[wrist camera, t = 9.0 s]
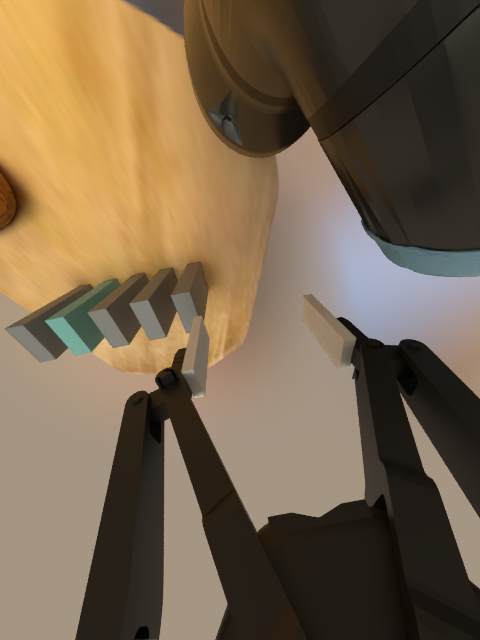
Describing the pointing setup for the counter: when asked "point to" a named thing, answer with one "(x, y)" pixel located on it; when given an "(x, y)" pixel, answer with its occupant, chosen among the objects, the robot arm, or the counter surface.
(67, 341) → the teal domino
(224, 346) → the counter surface
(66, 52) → the counter surface
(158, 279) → the domino
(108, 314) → the domino
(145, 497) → the robot arm
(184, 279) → the domino
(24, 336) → the end domino
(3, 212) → the bread roll
